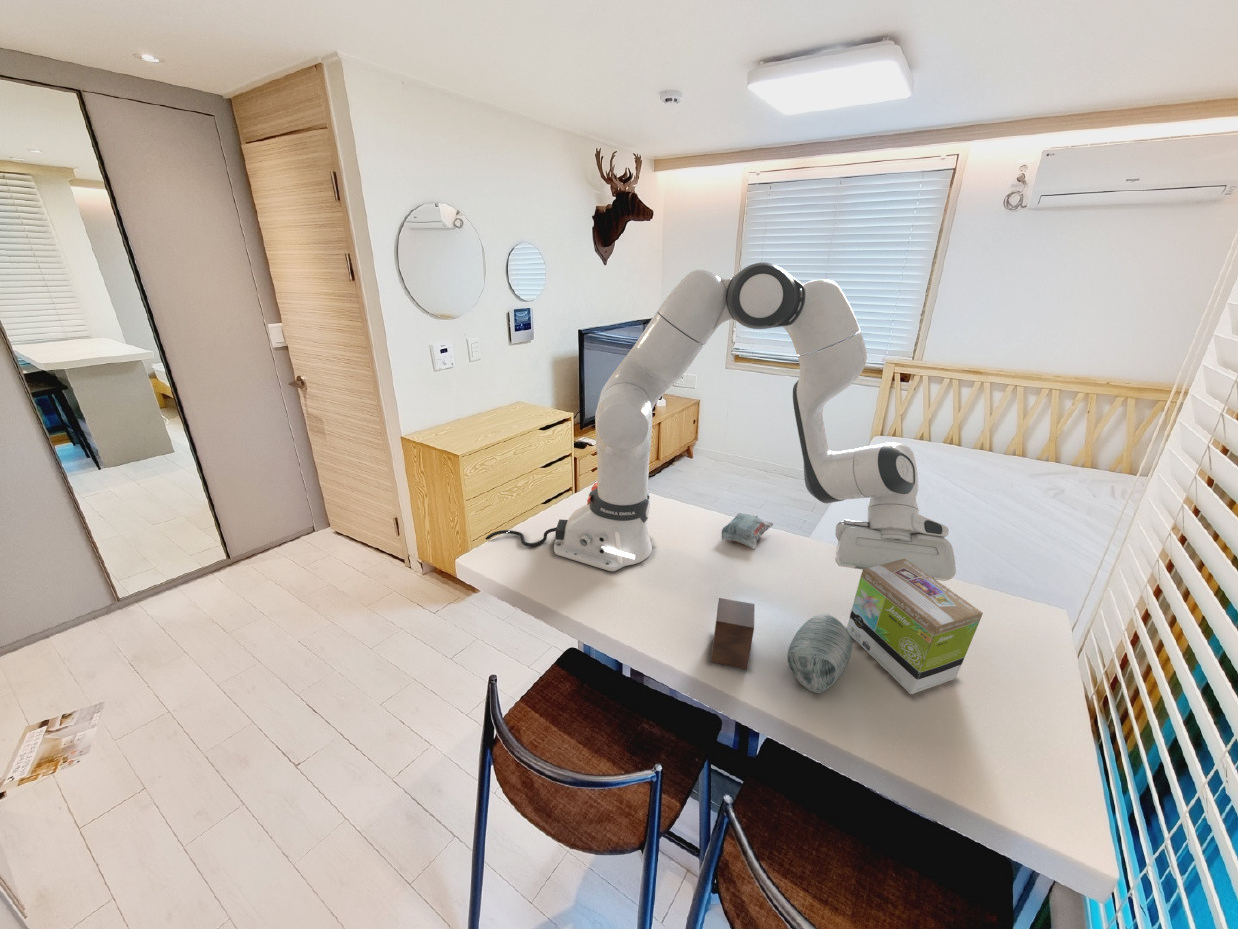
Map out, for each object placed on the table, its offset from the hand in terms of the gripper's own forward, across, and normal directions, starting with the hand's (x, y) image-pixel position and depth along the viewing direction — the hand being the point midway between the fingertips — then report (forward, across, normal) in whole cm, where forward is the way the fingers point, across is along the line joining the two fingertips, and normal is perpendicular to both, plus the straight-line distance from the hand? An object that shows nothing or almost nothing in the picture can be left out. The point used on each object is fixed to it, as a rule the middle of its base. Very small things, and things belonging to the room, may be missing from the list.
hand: (893, 597), depth 93 cm
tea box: (+10, 0, -2) cm, 11 cm away
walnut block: (+15, -29, -8) cm, 33 cm away
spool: (+15, -14, -7) cm, 22 cm away
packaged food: (-12, -26, +20) cm, 35 cm away
